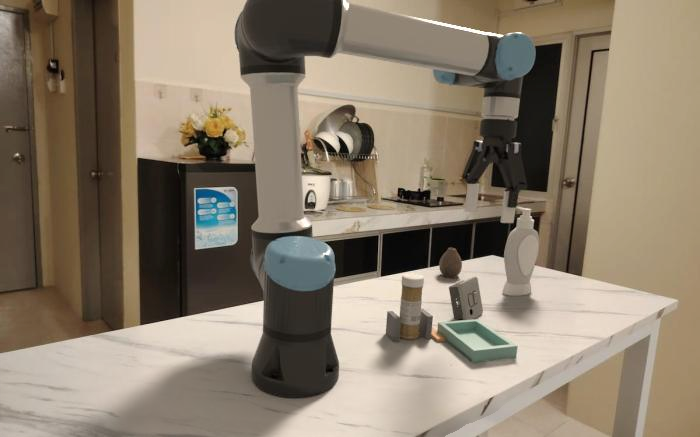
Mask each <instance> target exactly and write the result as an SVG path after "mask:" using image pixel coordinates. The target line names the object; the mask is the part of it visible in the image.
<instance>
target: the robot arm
mask: <svg viewBox="0 0 700 437" xmlns="http://www.w3.org/2000/svg"><path fill="white" fill-rule="evenodd" d="M234 42H235V45H236V49H237V51H238V59H239V60H238V61H239V72H240V79H241V80H242V81H243V82H244V83H245V84H247V86H248V87H249V92H250V106H251V108H250V109H251V121H252V122H251V123H252V138H253V150H254V151H253V154H254V167H255V178H256V179H255V181H256V196H257V198H256V199H257V212H258V218H257V219H256V220H255V221H254V222H253V224H252V225H251V228H250V229H251V240H252V247H251V250H250V251H251V253H250V264H251V268H252V271H253V273H254V276H255V277H257V278H256V279H258V282H259V284H260V286H261V289H262V291H263V314H262V316H263V318H262V333H261V337H260V340H259V342H258V345H257V348H256V349H255V353H254V356H253V359H252V362H251V375H250V377H251V380H252V382H253V384H254V385H255V386H256V387H257V388H258V389H259V390H261V391H263V392H265V393H267V394H270V395H274V396H278V397H283V398H284V397H285V398H304V397H311V396H316V395H319V394H322V393H325V392H326V391H328V390H330V389H331V388H333V387H334V386H335V385H336V384H337V382H338V380H339V377H340V362H339V361H340V360H339V358H338V354H337V351H336V348H335V347H336V346H335V344H334V340H333V336H332V320H333V319H332V317H333V302H334V285H335V284H334V282H335V275H336V269H337V268H336V262H335V253H334V250H333V249H332V247H331V246H330V245H328V244H327V243H326V242H324V241H322V240H319V239H317V240H316V239H315V238H314V237H313V233H314V232H313V222H312V221H311V220H310V219H309V218H308V217H307V216H306V215H305V213H304V212H305V211H304V194H303V193H304V192H303V171H302V152H301V151H302V150H301V130H300V129H301V128H300V126H301V125H300V113H299V112H300V108H299V107H300V106H299V105H300V104H299V92H298V91H299V90H298V88H299V85H300V84H301V83H302V82H303V81H304V79H306V57H321V58H326V59H332V58H333V57H335V56H336V55H337V54H342V55H348V56H353V57H355V56H356V57H360V58H365V59H372V60H378V61H383V62H390V63H394V64H395V63H396V64H399V65H400V64H402V65H407V66H412V67H418V68H423V69H424V68H425V69H429V70H432V75H433V77H434V80H436V82H438V83H439V84H442V85H443V84H444V85H449V86H460V87H470V88H478V89H483V99H482V104H481V105H482V107H481V113H480V115H481V117H483V118H482V119H481V120H480V127H479V132H478V133H479V134H478V135H479V136H480V137H482V138H483V139H482V140H473V143H472V144H473V145H472V149H471V152H470V155H469V158H468V160H467V162H466V165H465V168H464V170H463V172H462V175H461V179H462V180H464V181H465V182H466V191H465V192H466V193H465V196H466V197H465V205H464V212H467V213H477V209H478V201H479V190H480V181H479V180H480V178H481V177H482V175H483V174H484V173H485V171H486V170H487V168H488V166H489V165H491V164H492V163H493V164H495V165H496V166H498V169H499V171H500V173H501V176H502V179H503V182H504V185H505V186H506V188H505V190H504V191H503V198H502V206H501V215H500V220H499V221H500V223H502V224H514V221H515V215H516V209H517V208H516V207H518V200H519V194H520V192H521V191H526V190H528V184H527V177H526V173H525V168H524V162H523V157H522V148H523V145H522V143H521V142H512V139H513V140H514V139H515V138H516V136H517V128H518V122H517V120H515V119H517V118H518V117H519V110H520V102H521V95H522V94H521V93H522V89H523V88H522V86H523V80H524V76H525V75H527V74H528V73H529V72H530V71H531V69H532V68H533V66H534V64H535V60H536V53H537V52H536V45H535V43H534V41H533V40H532V38H531V37H530V36H529V35H527V34H526V33H523V32H518V31H517V32H508V33H505V34H497V33H492V32H485V31H480V30H476V29H471V28H467V27H461V26H458V25H453V24H449V23H443V22H440V21H434V20H429V19H424V18H419V17H416V16H411V15H407V14H401V13H398V12H392V11H388V10H384V9H378V8H374V7H370V6H364V5H359V4H355V3H351V2H347V1H346V0H246V1H245V4H244V6H243V8H242V10H241V12H239V15H238V16H237V20H236V23H235V26H234Z"/></svg>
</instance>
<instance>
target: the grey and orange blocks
mask: <svg viewBox="0 0 700 437" xmlns="http://www.w3.org/2000/svg"><path fill="white" fill-rule="evenodd" d="M433 321H434V316H433V315H432V314H431V313H429V312H428V311H427V310H426V309H424V308H421V315H420V323H419V335H421V336H422V337H423V338H424V339H425V340H427V339H433V340H434V341H436V343H437V342H447V341H446V338H445V337H444V336H442V335H441V334H440V333H439V332H438V331H437V330H436V329H435V328H434V327H433ZM400 326H401V318H400V315H398V314H397V313H395V312H394V311H393V310H389V311H388V310H387V313H386V325H385V334H386V335H387V337H389V339H391V341H392V342H394V343H396V342H400V339H401V337H400Z"/></svg>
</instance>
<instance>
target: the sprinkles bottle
mask: <svg viewBox="0 0 700 437" xmlns="http://www.w3.org/2000/svg"><path fill="white" fill-rule="evenodd" d="M424 282H425V277H424V276H423V275H422V274H419V273H412V272H410V273H404V274H402V276H401V286H402V287H401V295H400V305H399V317H400V318H401V326H400V338H402V339H405V340H416V339H418V338H419V336H420V333H419V323H420V315H421V309H422V304H423V303H422V300H423V299H422V296H423V288H424Z"/></svg>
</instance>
